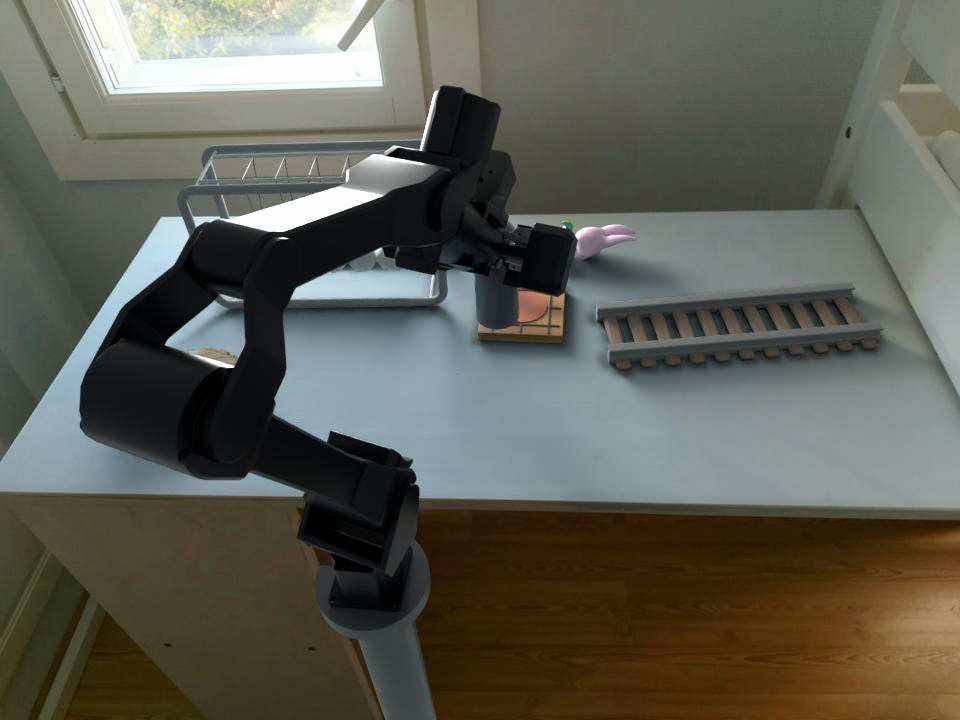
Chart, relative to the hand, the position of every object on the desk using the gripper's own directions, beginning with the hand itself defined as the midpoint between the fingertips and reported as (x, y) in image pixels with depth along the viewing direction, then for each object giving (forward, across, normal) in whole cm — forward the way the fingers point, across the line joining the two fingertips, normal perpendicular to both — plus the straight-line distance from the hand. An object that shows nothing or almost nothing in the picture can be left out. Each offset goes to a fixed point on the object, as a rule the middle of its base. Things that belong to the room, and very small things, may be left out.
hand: (500, 260), depth 80 cm
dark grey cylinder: (+4, 0, +6) cm, 7 cm away
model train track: (+18, -24, 0) cm, 30 cm away
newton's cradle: (+12, +25, +6) cm, 28 cm away
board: (+14, 0, +4) cm, 14 cm away
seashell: (-5, +30, +23) cm, 38 cm away
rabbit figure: (+24, -3, -6) cm, 24 cm away
